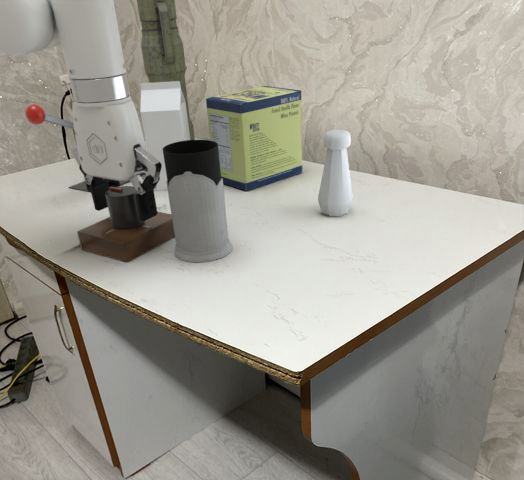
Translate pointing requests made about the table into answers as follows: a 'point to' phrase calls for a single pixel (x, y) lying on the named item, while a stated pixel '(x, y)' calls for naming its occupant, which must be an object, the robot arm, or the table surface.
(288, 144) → the protein box
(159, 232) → the dial panel
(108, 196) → the dial
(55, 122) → the lever
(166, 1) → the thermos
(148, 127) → the milk carton
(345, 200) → the salt shaker
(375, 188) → the table surface
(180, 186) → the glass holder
